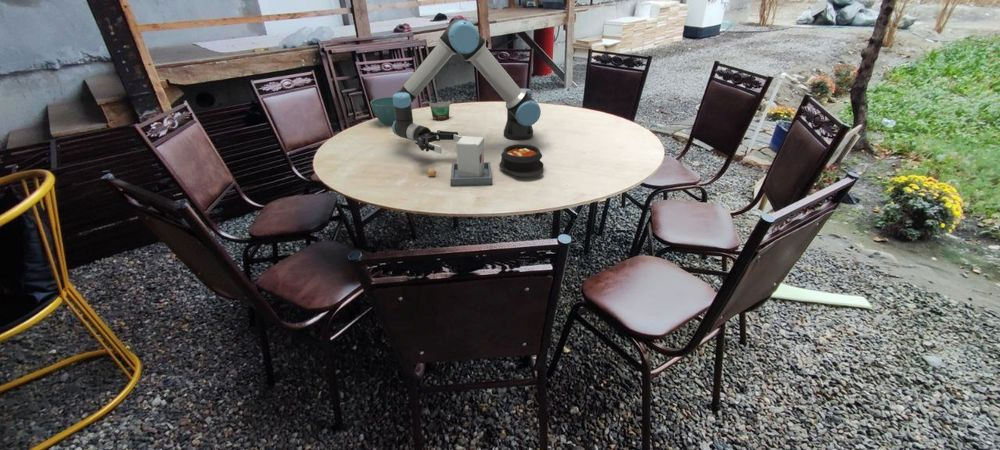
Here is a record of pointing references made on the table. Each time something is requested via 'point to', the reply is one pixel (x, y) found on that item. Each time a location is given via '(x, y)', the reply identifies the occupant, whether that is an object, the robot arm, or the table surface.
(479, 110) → the table surface
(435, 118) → the food container
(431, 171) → the ball
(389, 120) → the plant pot
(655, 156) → the table surface
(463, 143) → the supplement box
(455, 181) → the tray
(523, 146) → the casserole
